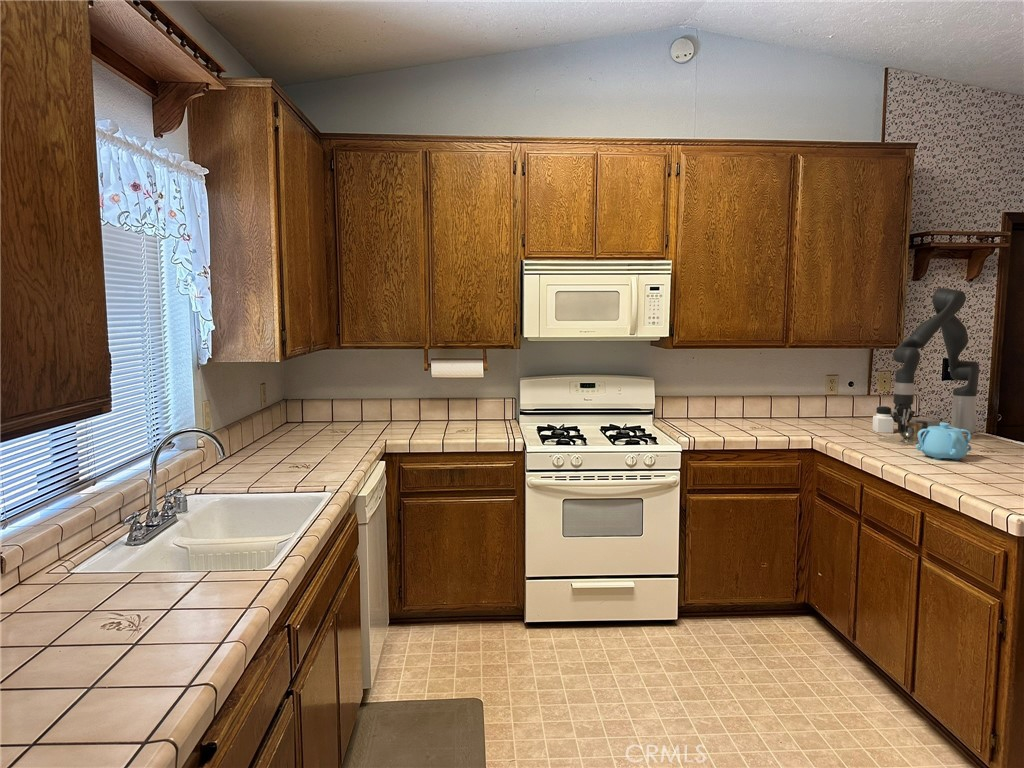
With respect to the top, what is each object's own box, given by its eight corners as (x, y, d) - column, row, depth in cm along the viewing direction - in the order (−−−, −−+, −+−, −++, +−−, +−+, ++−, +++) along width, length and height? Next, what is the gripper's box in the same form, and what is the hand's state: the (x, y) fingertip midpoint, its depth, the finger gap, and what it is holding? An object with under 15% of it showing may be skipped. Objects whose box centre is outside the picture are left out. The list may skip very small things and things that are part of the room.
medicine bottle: (893, 433, 312) (894, 407, 311) (877, 432, 313) (878, 407, 312) (888, 430, 319) (889, 405, 318) (872, 430, 320) (873, 405, 319)
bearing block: (919, 436, 304) (920, 416, 303) (945, 440, 293) (946, 420, 292) (878, 440, 294) (879, 420, 294) (902, 445, 283) (903, 425, 282)
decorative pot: (977, 459, 256) (979, 424, 255) (953, 463, 249) (955, 427, 247) (933, 451, 270) (935, 418, 269) (909, 456, 263) (911, 421, 262)
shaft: (928, 433, 301) (928, 421, 301) (940, 435, 296) (940, 423, 295) (899, 436, 295) (899, 424, 294) (910, 439, 289) (911, 426, 289)
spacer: (908, 436, 297) (909, 421, 296) (921, 438, 292) (921, 423, 291) (902, 436, 296) (903, 422, 295) (914, 439, 290) (915, 424, 290)
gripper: (900, 394, 283) (898, 434, 285) (922, 393, 288) (919, 433, 290) (885, 392, 290) (882, 431, 292) (906, 391, 295) (904, 430, 297)
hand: (901, 432), depth 291 cm, fingers closed
